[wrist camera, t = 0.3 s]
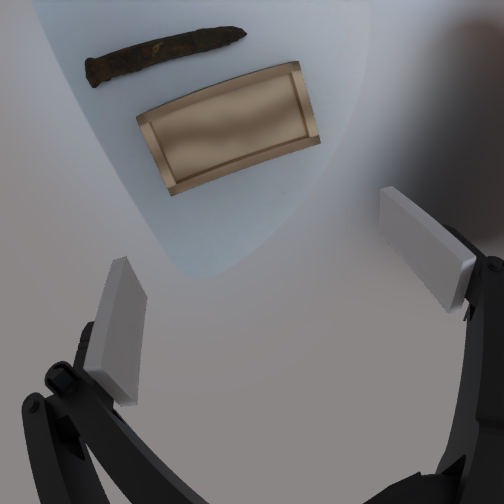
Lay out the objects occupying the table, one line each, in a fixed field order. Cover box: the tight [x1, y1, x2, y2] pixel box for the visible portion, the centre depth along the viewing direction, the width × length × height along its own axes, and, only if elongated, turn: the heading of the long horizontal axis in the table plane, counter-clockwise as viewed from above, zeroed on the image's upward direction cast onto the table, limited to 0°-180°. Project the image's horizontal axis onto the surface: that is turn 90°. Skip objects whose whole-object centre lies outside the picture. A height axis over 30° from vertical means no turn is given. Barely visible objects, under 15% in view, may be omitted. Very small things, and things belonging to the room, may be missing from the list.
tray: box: [136, 61, 321, 196], centre depth 36 cm, size 11×20×3 cm, turn 108°
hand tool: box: [85, 26, 247, 88], centre depth 29 cm, size 19×4×5 cm, turn 97°
